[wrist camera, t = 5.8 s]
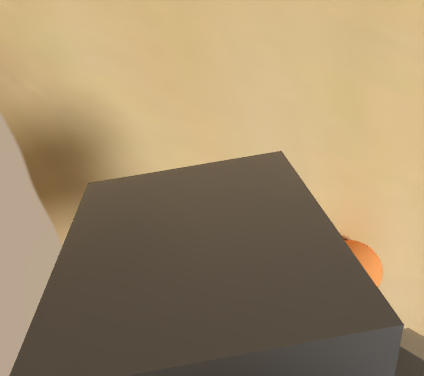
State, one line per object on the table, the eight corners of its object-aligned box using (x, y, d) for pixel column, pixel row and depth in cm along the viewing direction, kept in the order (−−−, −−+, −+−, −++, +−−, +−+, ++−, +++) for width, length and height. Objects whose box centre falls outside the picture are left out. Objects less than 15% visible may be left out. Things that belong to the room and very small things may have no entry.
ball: (312, 234, 32) (334, 273, 28) (366, 224, 33) (397, 261, 28) (312, 275, 35) (333, 317, 31) (363, 266, 35) (391, 305, 31)
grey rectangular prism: (88, 183, 13) (0, 399, 6) (281, 150, 13) (403, 324, 6) (134, 318, 16) (111, 554, 10) (287, 291, 17) (371, 502, 10)
